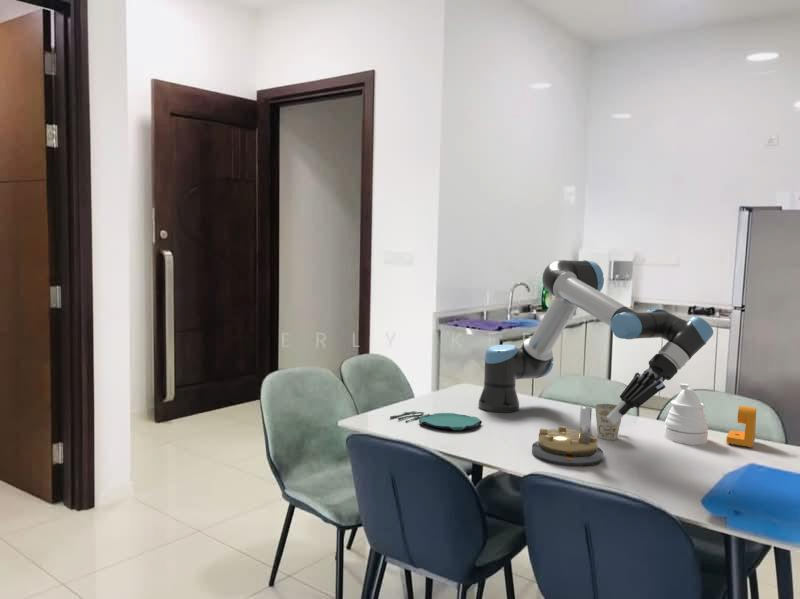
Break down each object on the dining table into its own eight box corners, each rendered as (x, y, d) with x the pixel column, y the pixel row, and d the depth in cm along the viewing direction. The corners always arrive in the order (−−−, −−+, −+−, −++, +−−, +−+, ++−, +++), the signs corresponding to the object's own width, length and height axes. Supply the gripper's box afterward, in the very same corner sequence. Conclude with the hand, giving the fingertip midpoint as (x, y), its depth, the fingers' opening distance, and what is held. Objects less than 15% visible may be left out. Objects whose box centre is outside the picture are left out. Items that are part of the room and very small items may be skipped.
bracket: (729, 437, 219) (732, 401, 218) (754, 441, 215) (757, 405, 214) (725, 445, 210) (728, 407, 209) (751, 449, 206) (754, 411, 205)
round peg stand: (532, 449, 189) (534, 404, 189) (545, 436, 204) (547, 394, 203) (591, 459, 182) (594, 412, 181) (601, 444, 197) (603, 401, 196)
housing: (523, 459, 189) (524, 451, 188) (541, 441, 207) (541, 434, 207) (596, 471, 180) (597, 463, 180) (607, 452, 198) (608, 444, 198)
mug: (589, 436, 215) (590, 406, 214) (606, 430, 224) (608, 400, 223) (613, 442, 209) (615, 411, 208) (630, 435, 218) (632, 405, 217)
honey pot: (686, 446, 207) (689, 389, 206) (655, 435, 219) (658, 381, 218) (716, 442, 213) (720, 386, 211) (684, 432, 224) (687, 379, 223)
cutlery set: (460, 436, 211) (460, 429, 210) (385, 421, 228) (385, 415, 228) (490, 425, 227) (491, 418, 227) (417, 412, 244) (418, 405, 244)
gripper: (689, 375, 184) (630, 436, 182) (663, 367, 197) (607, 424, 195) (672, 356, 183) (613, 417, 181) (647, 349, 195) (591, 406, 194)
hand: (610, 420), depth 188 cm, fingers closed
